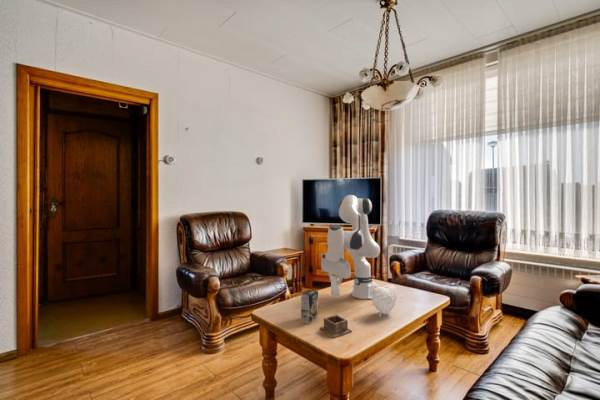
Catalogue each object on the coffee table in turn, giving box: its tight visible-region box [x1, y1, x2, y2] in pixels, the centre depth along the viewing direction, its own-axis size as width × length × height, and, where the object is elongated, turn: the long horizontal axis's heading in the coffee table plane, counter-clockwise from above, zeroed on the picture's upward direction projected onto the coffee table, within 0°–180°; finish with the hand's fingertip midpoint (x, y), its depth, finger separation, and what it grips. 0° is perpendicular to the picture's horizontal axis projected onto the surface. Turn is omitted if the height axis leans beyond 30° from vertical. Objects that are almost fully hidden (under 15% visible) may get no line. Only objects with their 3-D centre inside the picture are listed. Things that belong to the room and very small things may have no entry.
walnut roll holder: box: [319, 314, 353, 339], centre depth 156 cm, size 12×12×6 cm
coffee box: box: [300, 289, 319, 325], centre depth 169 cm, size 9×6×16 cm
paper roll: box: [330, 275, 341, 297], centre depth 155 cm, size 4×4×10 cm
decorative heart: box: [371, 284, 398, 316], centre depth 177 cm, size 18×11×17 cm, turn 122°
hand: (335, 283), depth 155 cm, fingers closed on paper roll, 4 cm apart
